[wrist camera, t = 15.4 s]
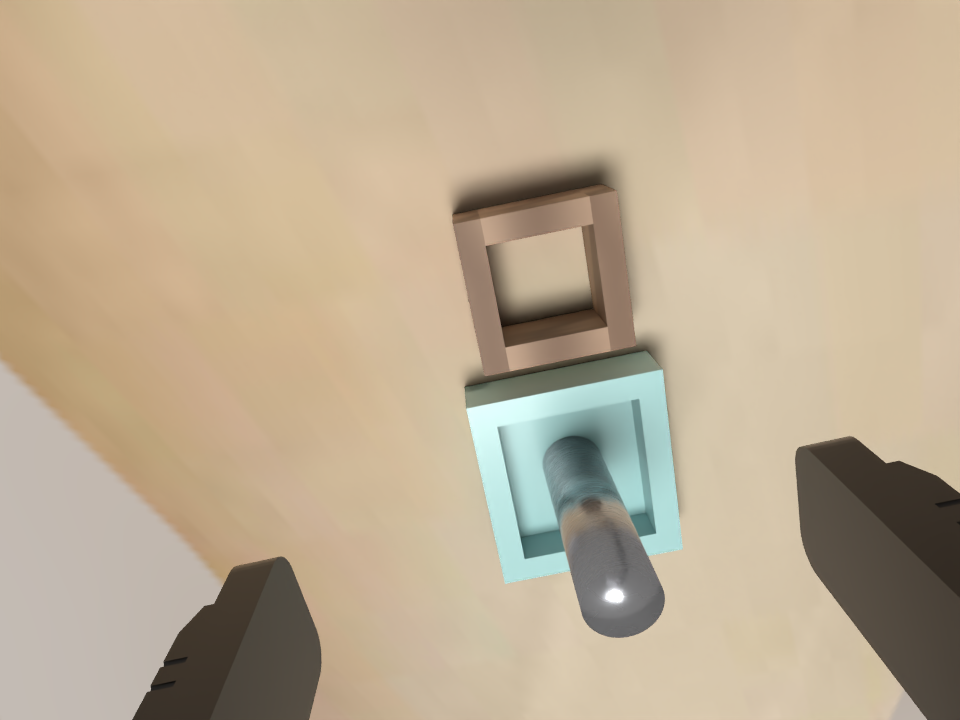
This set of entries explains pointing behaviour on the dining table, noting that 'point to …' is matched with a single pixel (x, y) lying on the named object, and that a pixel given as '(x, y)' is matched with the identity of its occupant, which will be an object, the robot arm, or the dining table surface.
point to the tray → (573, 412)
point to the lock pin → (600, 541)
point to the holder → (557, 334)
